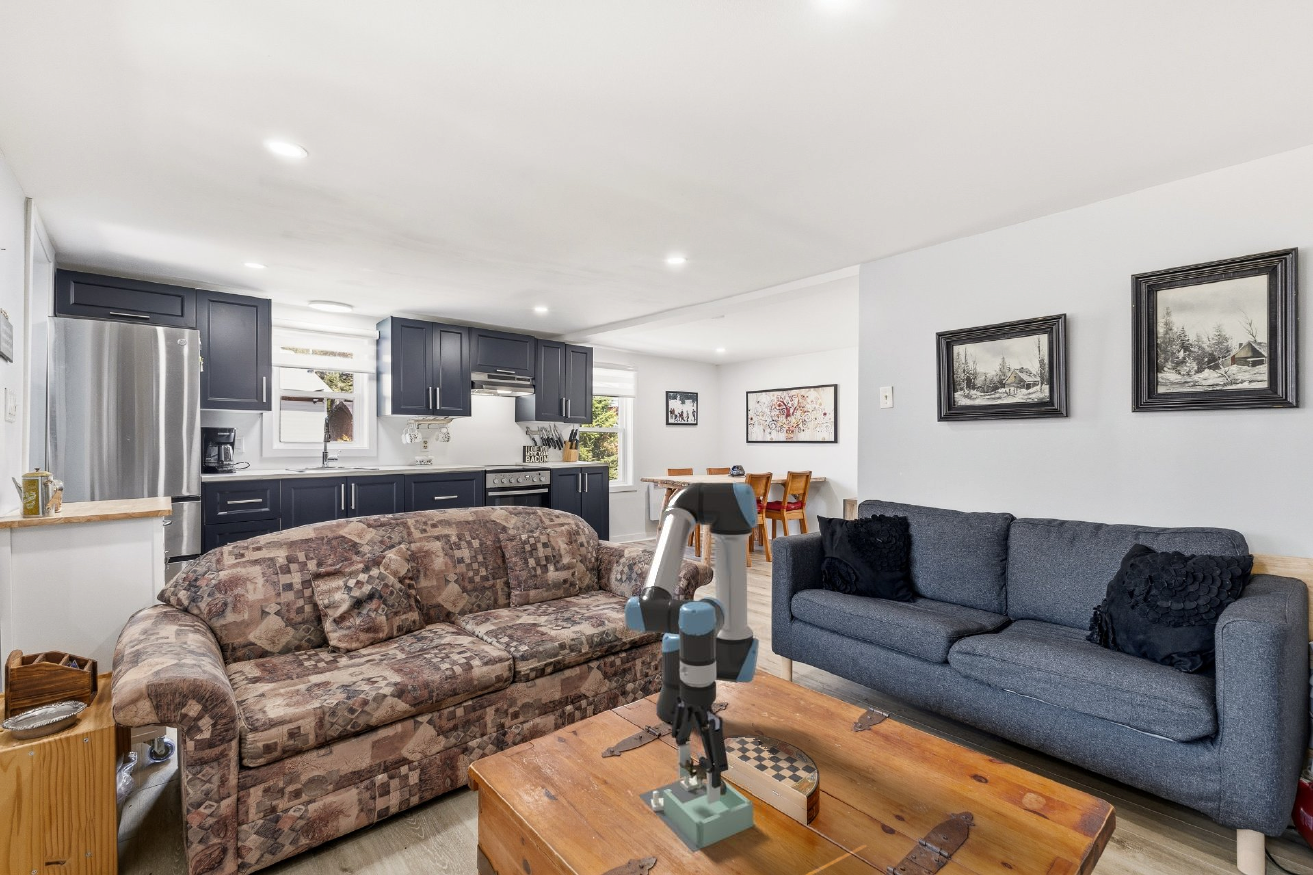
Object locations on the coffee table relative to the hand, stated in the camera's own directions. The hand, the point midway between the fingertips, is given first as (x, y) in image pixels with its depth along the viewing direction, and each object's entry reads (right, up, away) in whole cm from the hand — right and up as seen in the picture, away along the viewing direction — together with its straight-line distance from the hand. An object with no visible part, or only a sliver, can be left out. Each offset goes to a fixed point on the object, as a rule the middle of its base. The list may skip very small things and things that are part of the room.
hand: (698, 787), depth 126 cm
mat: (-1, -5, +1) cm, 6 cm away
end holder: (+1, -5, -2) cm, 6 cm away
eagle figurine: (+1, -1, +1) cm, 2 cm away
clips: (-4, -5, +6) cm, 8 cm away
